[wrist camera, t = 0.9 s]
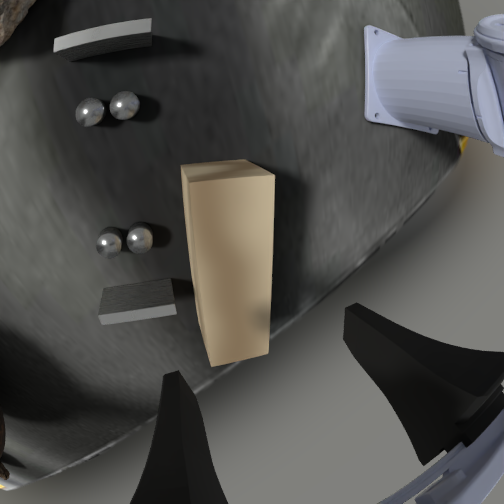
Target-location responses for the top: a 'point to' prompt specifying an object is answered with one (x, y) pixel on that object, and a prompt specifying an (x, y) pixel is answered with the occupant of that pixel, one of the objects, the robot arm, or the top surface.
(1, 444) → the glass bottle
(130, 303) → the grey blocks and balls
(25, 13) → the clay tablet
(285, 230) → the top surface
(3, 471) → the brown rock
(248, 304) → the oak block
